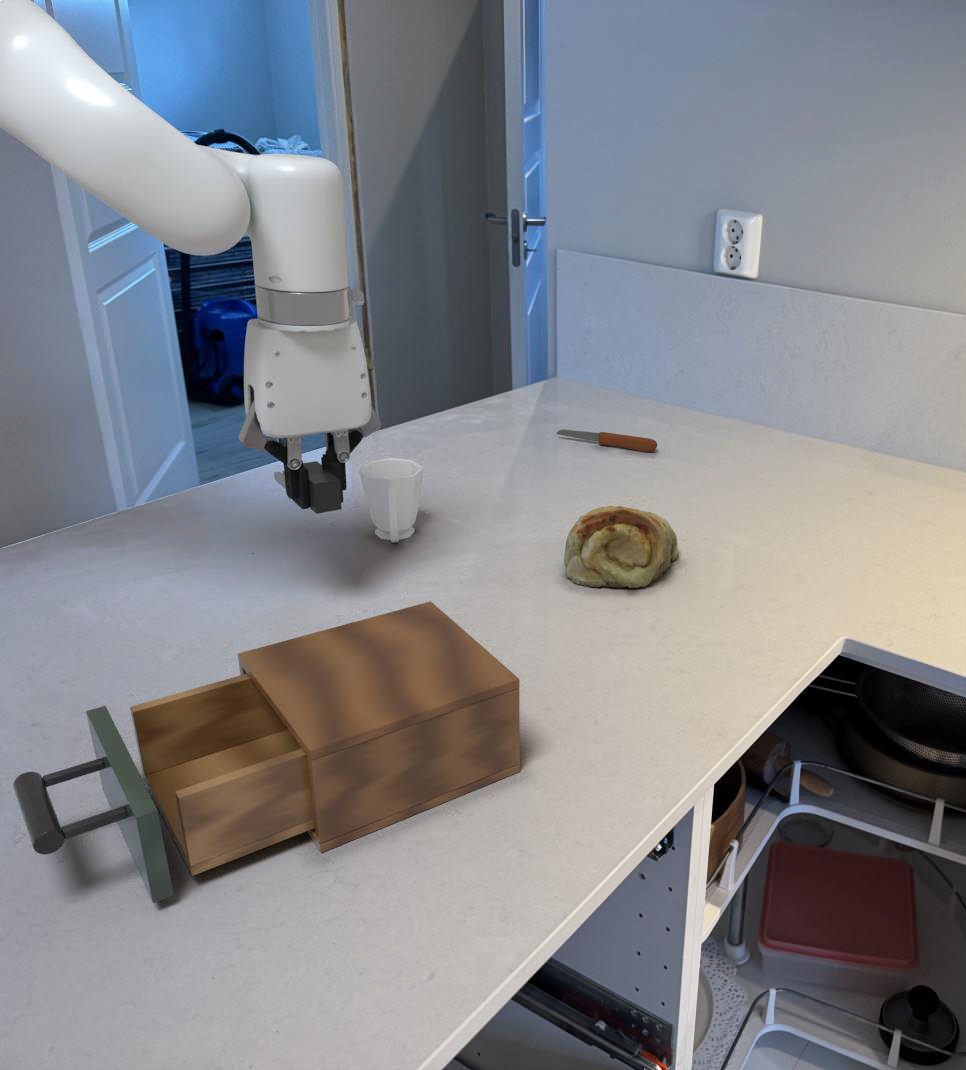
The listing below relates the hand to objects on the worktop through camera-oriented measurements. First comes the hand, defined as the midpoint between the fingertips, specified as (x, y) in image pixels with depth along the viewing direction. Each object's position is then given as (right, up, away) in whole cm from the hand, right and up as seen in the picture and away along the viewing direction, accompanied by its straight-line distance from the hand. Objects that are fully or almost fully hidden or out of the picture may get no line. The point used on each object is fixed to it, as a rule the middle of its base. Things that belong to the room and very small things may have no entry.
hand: (317, 499), depth 94 cm
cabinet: (+12, -21, -16) cm, 29 cm away
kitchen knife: (+21, +10, +56) cm, 61 cm away
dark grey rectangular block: (-1, +1, +2) cm, 2 cm away
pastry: (+27, -7, +19) cm, 34 cm away
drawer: (+2, -23, -24) cm, 34 cm away
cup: (+1, -4, +21) cm, 21 cm away
